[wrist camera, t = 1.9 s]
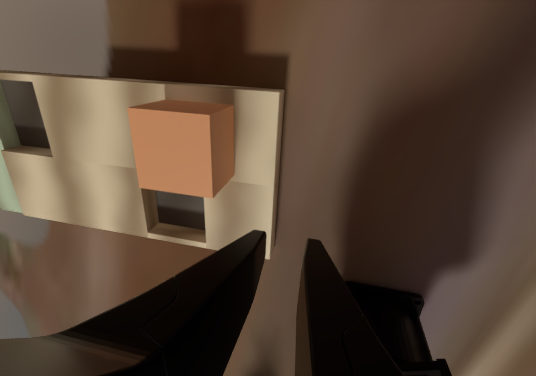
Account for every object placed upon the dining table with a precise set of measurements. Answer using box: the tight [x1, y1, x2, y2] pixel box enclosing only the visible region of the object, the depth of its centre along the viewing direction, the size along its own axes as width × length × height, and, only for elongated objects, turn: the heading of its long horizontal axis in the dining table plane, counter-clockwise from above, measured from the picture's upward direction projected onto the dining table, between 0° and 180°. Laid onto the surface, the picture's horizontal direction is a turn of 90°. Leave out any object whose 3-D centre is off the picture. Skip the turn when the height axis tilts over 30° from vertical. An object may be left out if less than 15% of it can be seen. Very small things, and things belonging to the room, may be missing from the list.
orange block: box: [127, 99, 234, 198], centre depth 19 cm, size 5×5×4 cm
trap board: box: [0, 70, 285, 260], centre depth 24 cm, size 33×13×4 cm, turn 87°
